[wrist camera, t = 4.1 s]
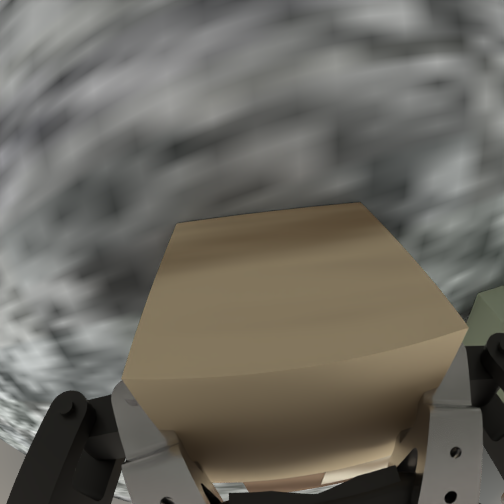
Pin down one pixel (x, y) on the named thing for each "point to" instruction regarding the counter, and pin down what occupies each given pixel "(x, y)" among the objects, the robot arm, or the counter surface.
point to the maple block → (289, 342)
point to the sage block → (486, 320)
